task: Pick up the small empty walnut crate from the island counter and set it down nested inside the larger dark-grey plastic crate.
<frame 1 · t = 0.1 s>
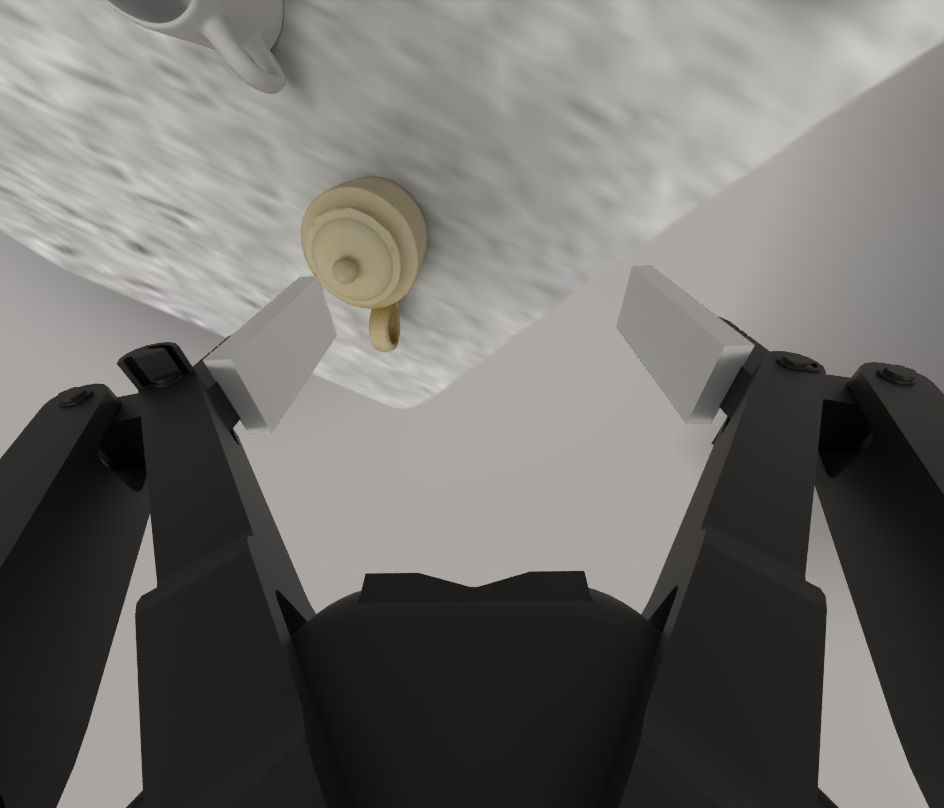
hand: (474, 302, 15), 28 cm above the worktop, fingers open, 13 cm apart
beige teapot: (391, 247, 40), on the worktop
mug: (249, 12, 28), on the worktop
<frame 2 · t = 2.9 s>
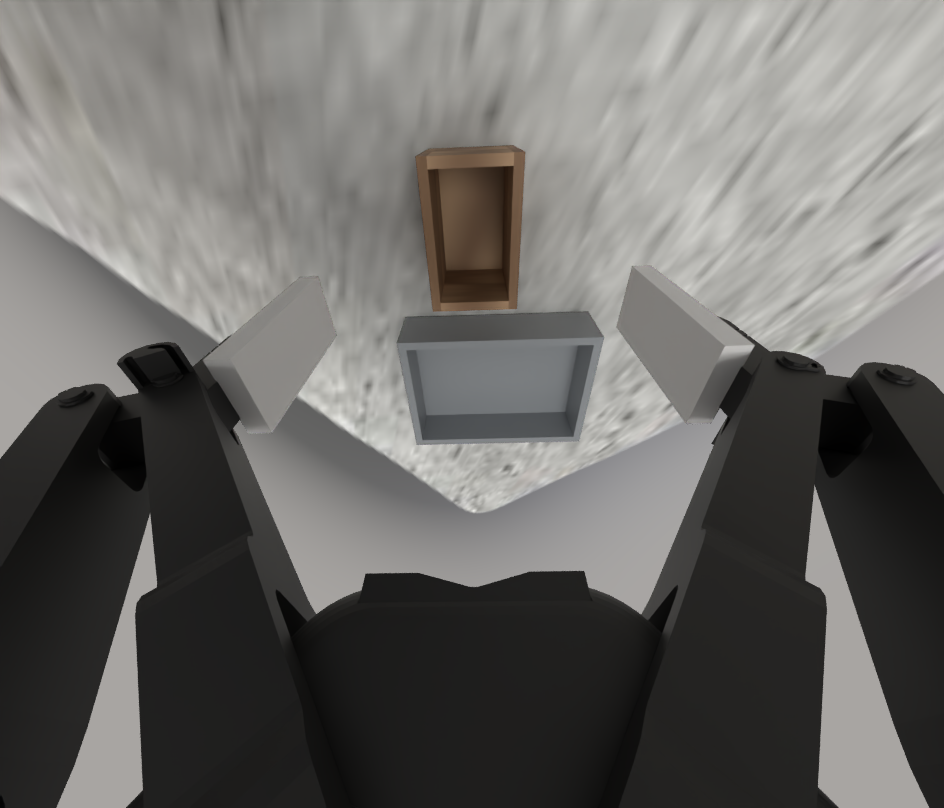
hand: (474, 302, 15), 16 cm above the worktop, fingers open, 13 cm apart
walnut crate: (472, 217, 27), on the worktop
grey crate: (495, 368, 36), on the worktop
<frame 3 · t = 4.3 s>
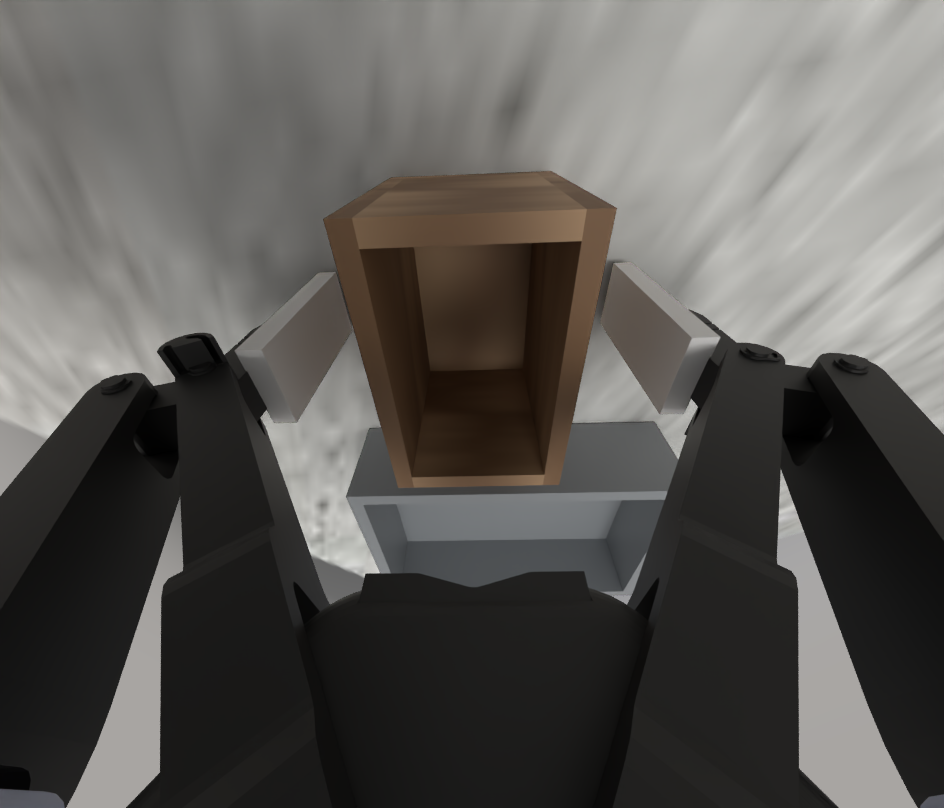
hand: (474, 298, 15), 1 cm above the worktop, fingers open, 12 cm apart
walnut crate: (474, 291, 16), on the worktop
grey crate: (507, 487, 25), on the worktop
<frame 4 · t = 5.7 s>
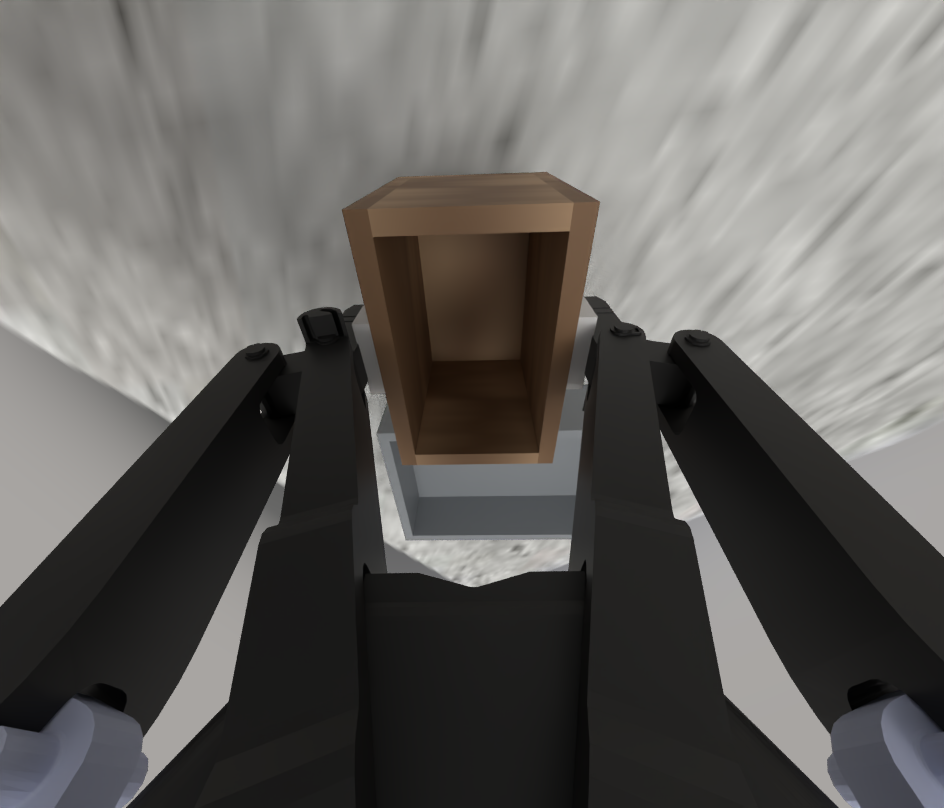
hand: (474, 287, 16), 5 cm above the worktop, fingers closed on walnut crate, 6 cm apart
walnut crate: (474, 285, 17), point 4 cm above the worktop, touching gripper
grey crate: (505, 446, 29), on the worktop
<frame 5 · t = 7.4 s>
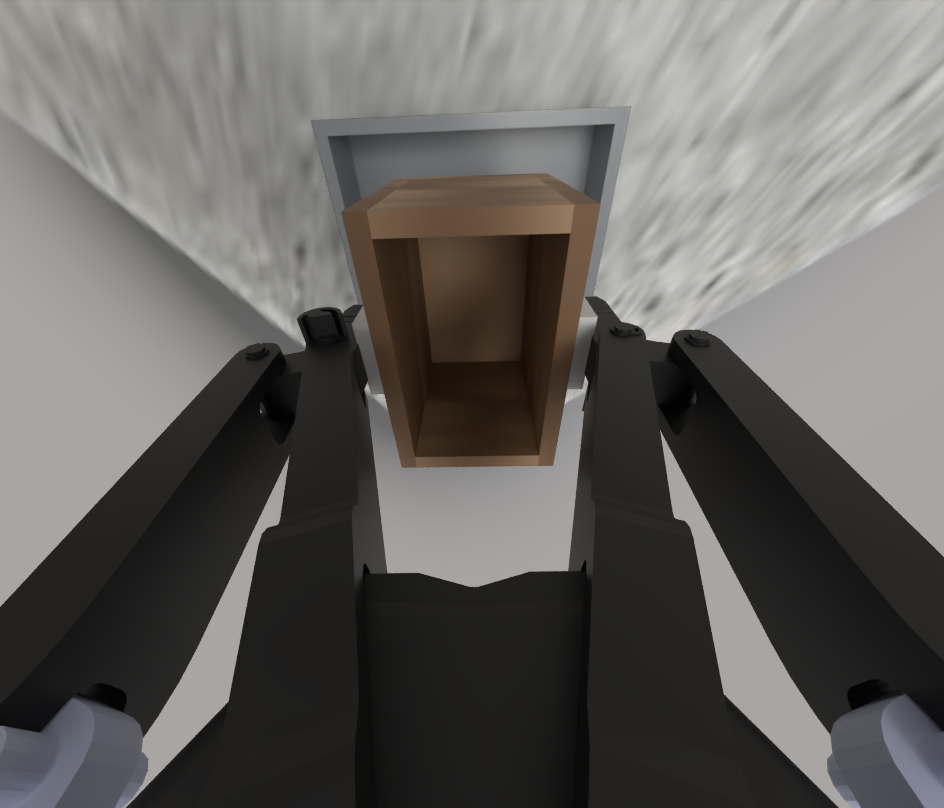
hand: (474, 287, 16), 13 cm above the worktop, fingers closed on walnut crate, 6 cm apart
walnut crate: (474, 286, 16), point 13 cm above the worktop, touching gripper
grey crate: (472, 220, 26), on the worktop
when the fingers open (1 cm above the worktop, at t = 9.3 s): walnut crate stays where it is, resting on grey crate.
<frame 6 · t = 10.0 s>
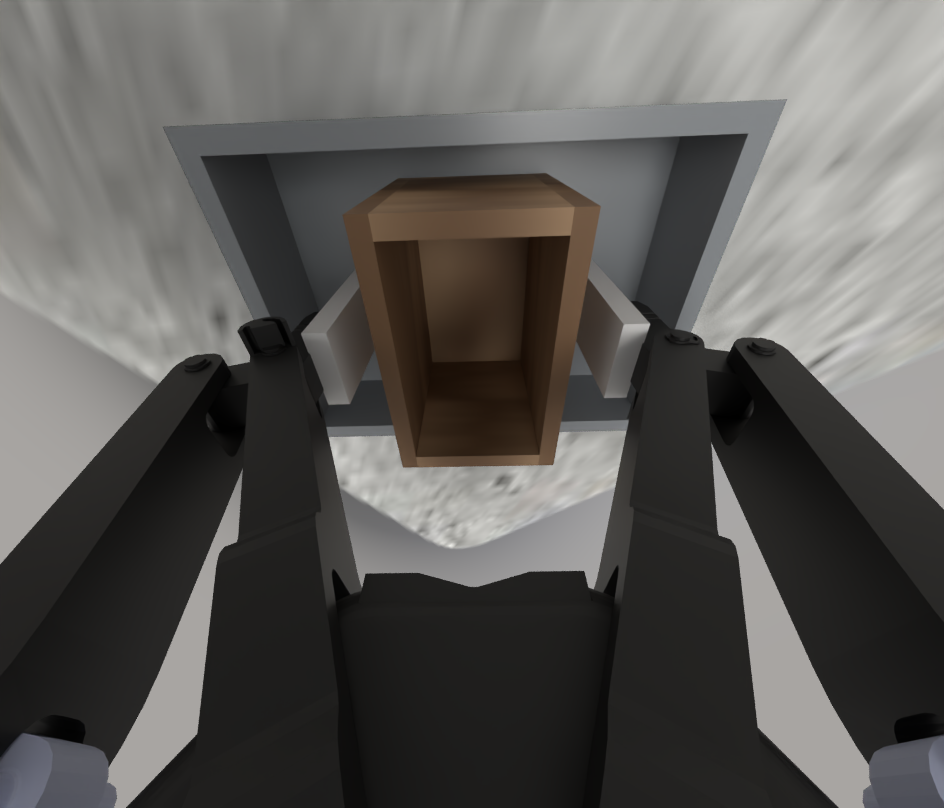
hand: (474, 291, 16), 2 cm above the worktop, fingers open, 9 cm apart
walnut crate: (474, 286, 16), point 1 cm above the worktop, touching grey crate
grey crate: (474, 277, 17), on the worktop
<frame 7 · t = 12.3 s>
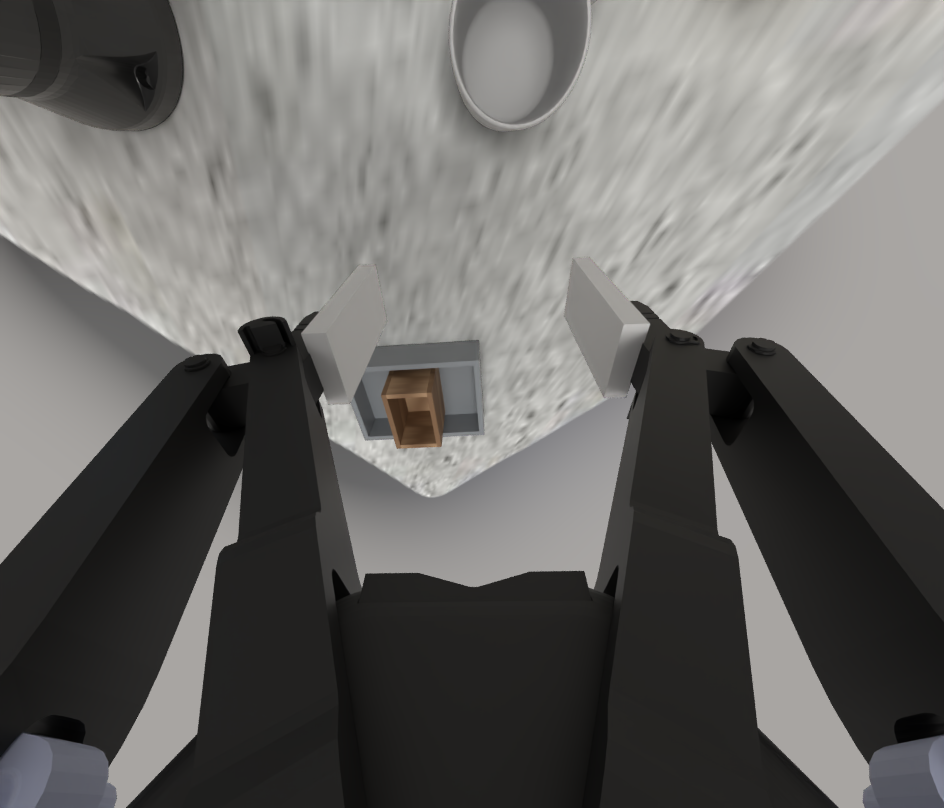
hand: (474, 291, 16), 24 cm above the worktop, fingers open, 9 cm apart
walnut crate: (420, 387, 48), point 1 cm above the worktop, touching grey crate
grey crate: (421, 382, 49), on the worktop
mug: (524, 50, 28), on the worktop
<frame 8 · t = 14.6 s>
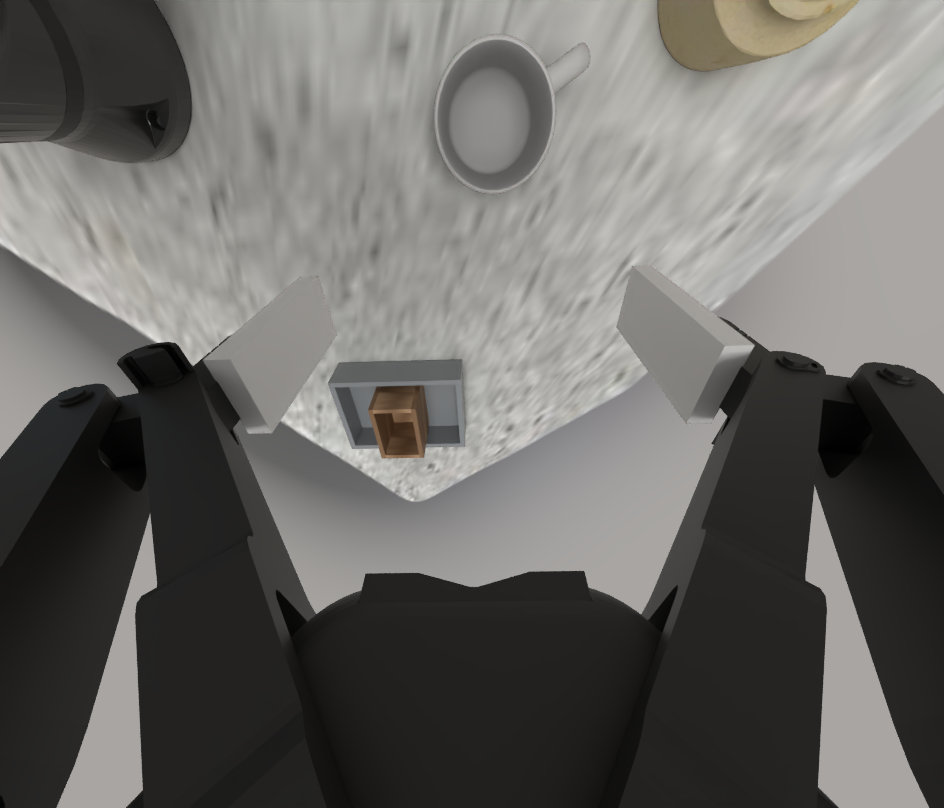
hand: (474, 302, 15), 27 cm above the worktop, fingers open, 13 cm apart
walnut crate: (406, 400, 51), point 1 cm above the worktop, touching grey crate
grey crate: (407, 395, 52), on the worktop
mug: (505, 112, 31), on the worktop
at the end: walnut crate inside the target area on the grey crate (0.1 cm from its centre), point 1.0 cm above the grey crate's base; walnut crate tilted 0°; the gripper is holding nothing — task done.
